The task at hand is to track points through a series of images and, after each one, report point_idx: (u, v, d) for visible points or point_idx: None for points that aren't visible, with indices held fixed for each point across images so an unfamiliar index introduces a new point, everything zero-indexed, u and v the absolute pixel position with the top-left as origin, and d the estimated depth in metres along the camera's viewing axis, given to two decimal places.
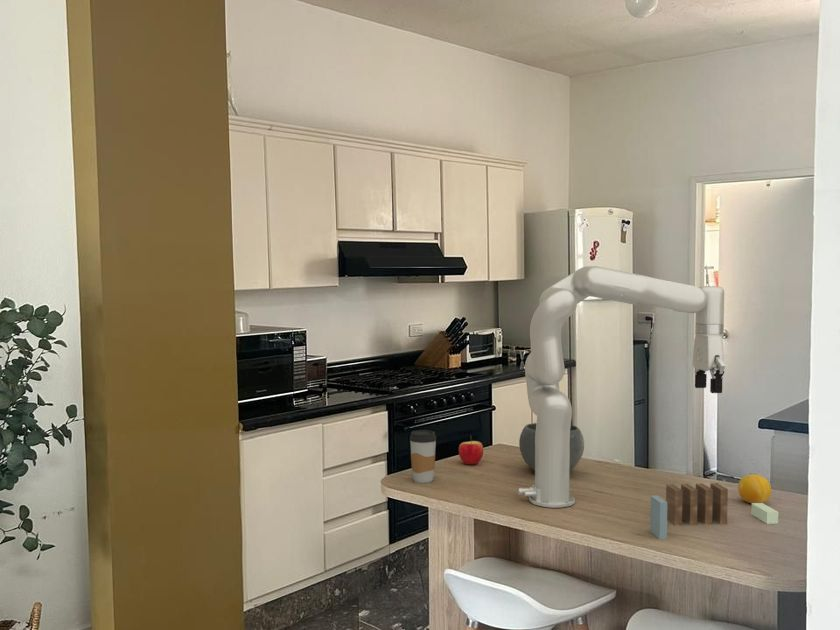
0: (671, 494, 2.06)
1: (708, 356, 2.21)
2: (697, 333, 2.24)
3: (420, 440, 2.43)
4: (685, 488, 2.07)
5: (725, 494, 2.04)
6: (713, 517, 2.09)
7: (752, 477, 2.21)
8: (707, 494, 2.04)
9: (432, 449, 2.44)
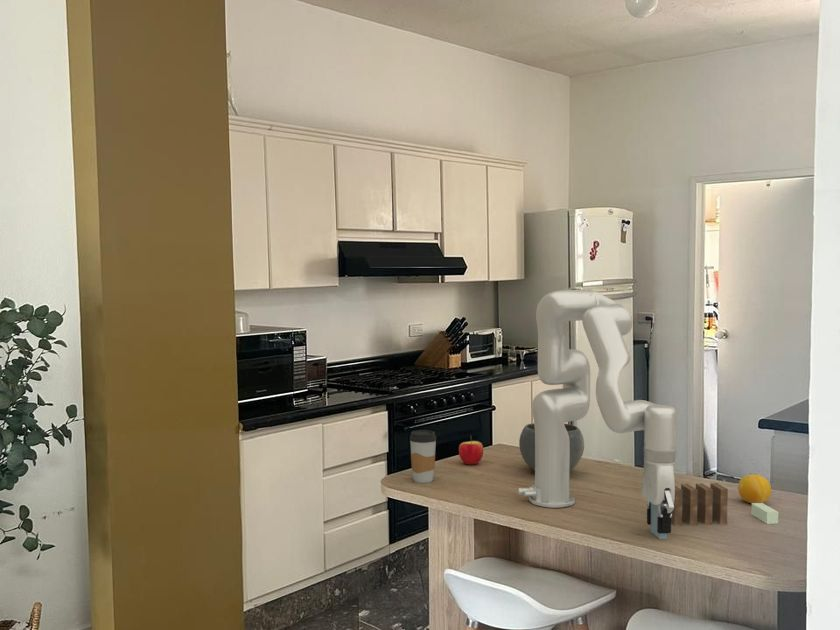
0: None
1: (657, 489, 1.91)
2: (645, 460, 1.94)
3: (420, 440, 2.43)
4: (685, 488, 2.07)
5: (725, 494, 2.04)
6: (713, 517, 2.09)
7: (752, 477, 2.21)
8: (706, 494, 2.04)
9: (432, 449, 2.44)
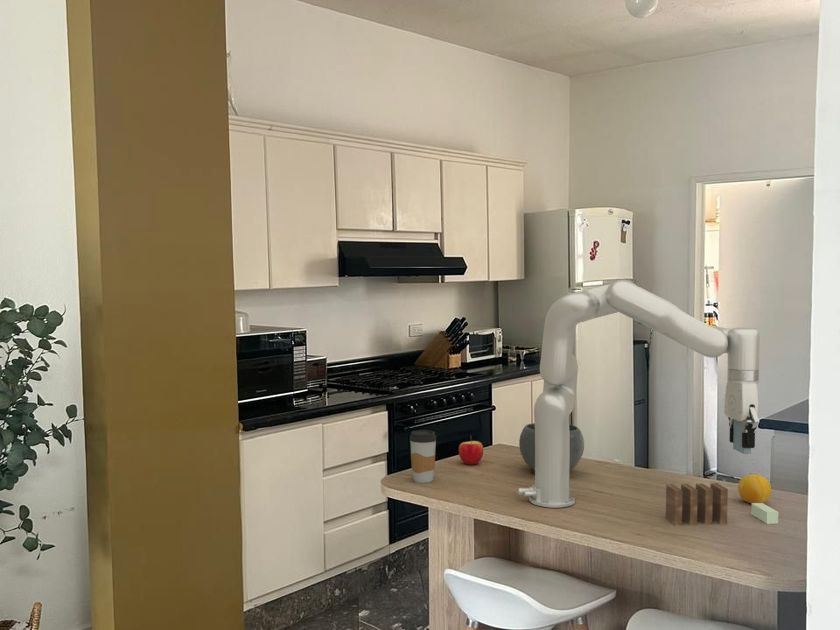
0: (671, 494, 2.06)
1: (742, 405, 2.01)
2: (730, 379, 2.05)
3: (420, 440, 2.43)
4: (685, 488, 2.07)
5: (725, 494, 2.04)
6: (713, 517, 2.09)
7: (752, 477, 2.21)
8: (706, 494, 2.04)
9: (432, 449, 2.44)
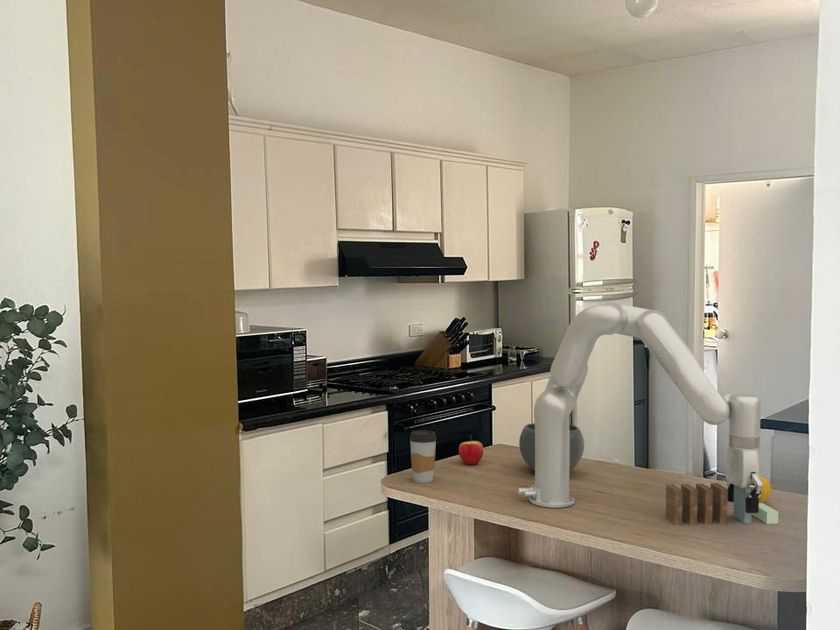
0: (671, 494, 2.06)
1: (743, 473, 2.03)
2: (731, 446, 2.06)
3: (420, 440, 2.43)
4: (685, 488, 2.07)
5: (725, 494, 2.04)
6: (713, 517, 2.09)
7: None
8: (707, 494, 2.04)
9: (432, 449, 2.44)
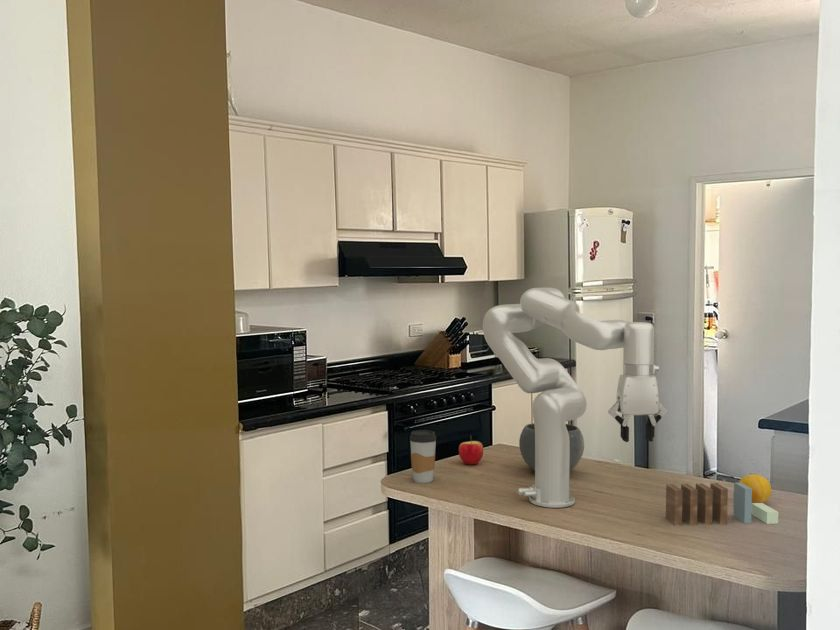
0: (671, 494, 2.06)
1: None
2: None
3: (420, 440, 2.43)
4: (685, 488, 2.07)
5: (725, 494, 2.04)
6: (713, 517, 2.09)
7: (752, 477, 2.21)
8: (706, 494, 2.04)
9: (432, 449, 2.44)
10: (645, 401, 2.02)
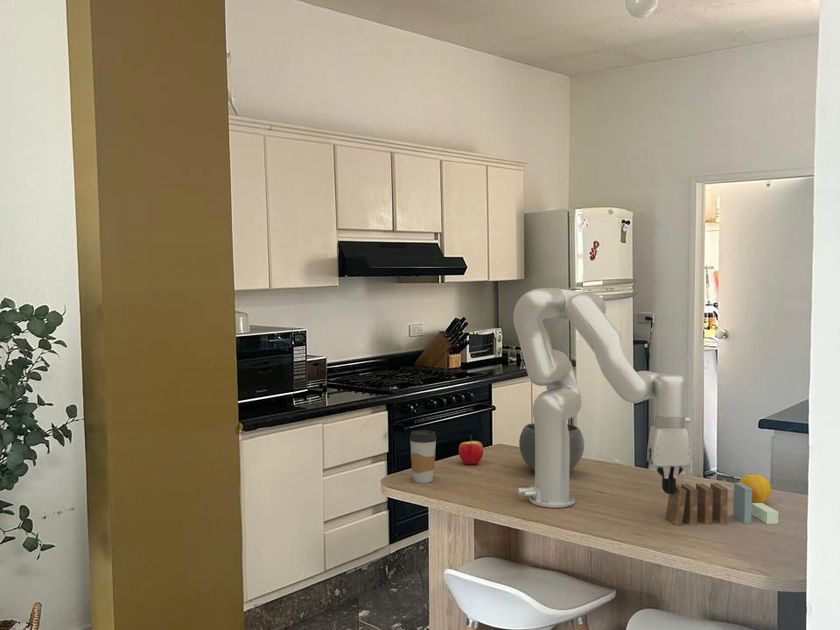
0: (675, 493, 2.06)
1: None
2: None
3: (420, 440, 2.43)
4: (685, 488, 2.07)
5: (725, 494, 2.04)
6: (713, 517, 2.09)
7: (752, 477, 2.21)
8: (706, 494, 2.04)
9: (432, 449, 2.44)
10: (677, 453, 2.03)
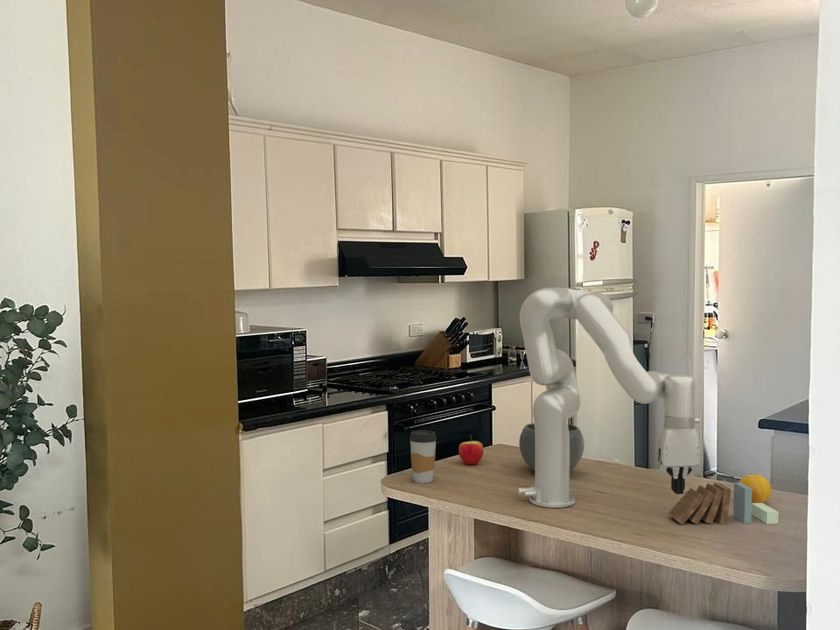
0: (692, 496, 2.06)
1: None
2: None
3: (420, 440, 2.43)
4: (703, 489, 2.07)
5: (728, 494, 2.04)
6: None
7: (752, 477, 2.21)
8: (717, 494, 2.04)
9: (432, 449, 2.44)
10: (686, 453, 2.04)
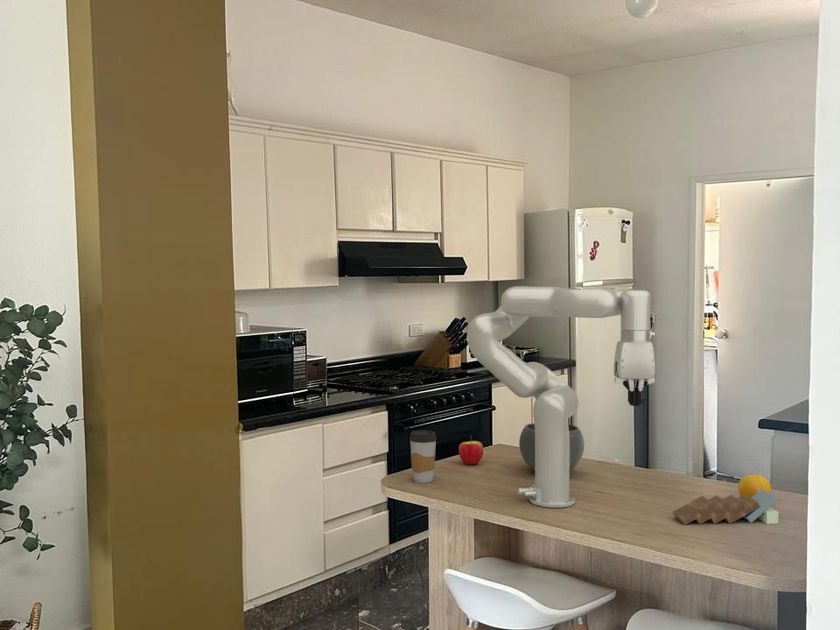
0: (703, 502, 2.06)
1: None
2: None
3: (420, 440, 2.43)
4: (720, 498, 2.08)
5: (754, 507, 2.05)
6: None
7: (752, 477, 2.21)
8: (738, 504, 2.05)
9: (432, 449, 2.44)
10: (642, 365, 2.10)
